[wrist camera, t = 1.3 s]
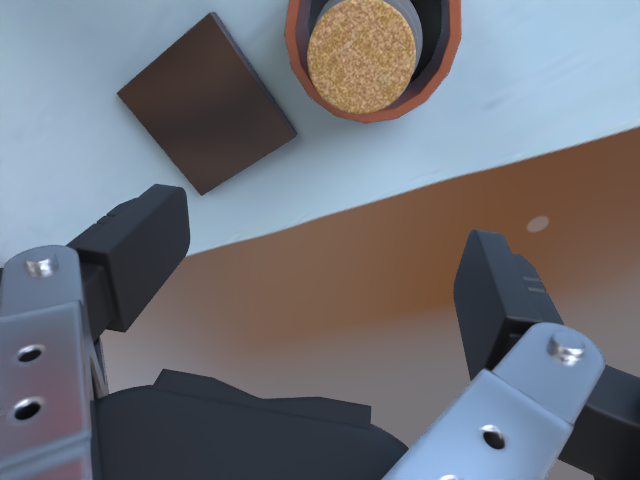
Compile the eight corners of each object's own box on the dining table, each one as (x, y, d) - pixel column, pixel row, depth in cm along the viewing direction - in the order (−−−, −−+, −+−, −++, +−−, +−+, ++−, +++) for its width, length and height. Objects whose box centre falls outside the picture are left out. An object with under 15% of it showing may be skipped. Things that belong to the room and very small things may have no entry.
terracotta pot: (271, 3, 31) (252, 6, 26) (406, -106, 26) (408, -123, 22) (348, 129, 35) (342, 150, 30) (476, 53, 30) (490, 64, 26)
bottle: (361, 86, 33) (342, 150, 20) (318, 17, 31) (267, 40, 18) (428, 39, 30) (455, 79, 18) (387, -39, 28) (384, -57, 16)
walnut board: (122, 90, 36) (116, 93, 35) (214, 11, 31) (209, 12, 31) (205, 191, 40) (201, 196, 39) (297, 133, 36) (294, 137, 35)
